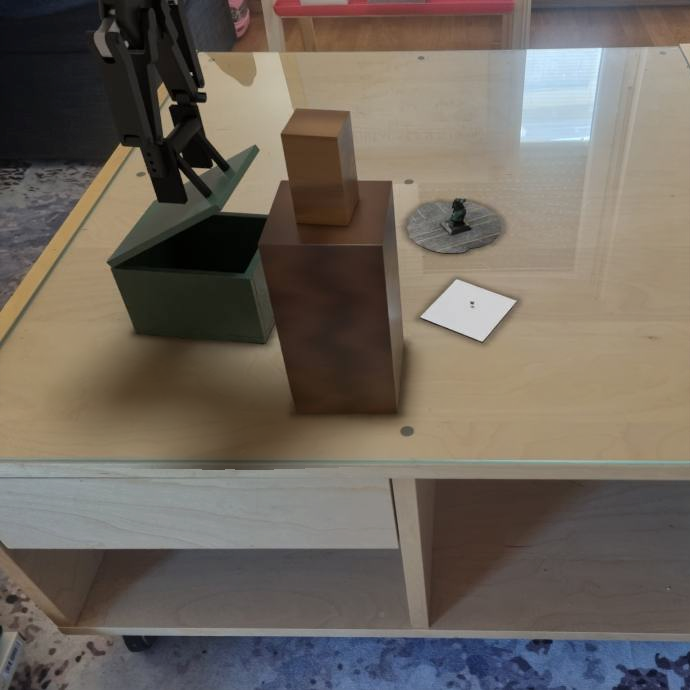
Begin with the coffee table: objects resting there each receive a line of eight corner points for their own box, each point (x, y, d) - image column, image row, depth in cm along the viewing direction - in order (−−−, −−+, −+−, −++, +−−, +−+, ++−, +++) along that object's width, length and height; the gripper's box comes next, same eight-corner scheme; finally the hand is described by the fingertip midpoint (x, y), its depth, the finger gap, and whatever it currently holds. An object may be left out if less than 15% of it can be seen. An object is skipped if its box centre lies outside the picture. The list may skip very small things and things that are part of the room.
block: (348, 226, 61) (337, 136, 56) (296, 223, 62) (280, 133, 56) (359, 198, 64) (350, 110, 59) (310, 195, 65) (295, 107, 59)
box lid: (260, 150, 78) (213, 91, 74) (221, 210, 69) (166, 148, 65) (158, 206, 84) (110, 155, 80) (111, 268, 76) (55, 214, 72)
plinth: (295, 413, 73) (257, 244, 59) (311, 343, 80) (280, 179, 67) (397, 413, 73) (382, 245, 59) (404, 344, 80) (392, 180, 67)
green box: (295, 278, 89) (282, 215, 83) (265, 343, 80) (249, 278, 74) (177, 269, 90) (157, 207, 84) (135, 333, 82) (110, 268, 76)
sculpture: (515, 219, 99) (501, 198, 91) (486, 281, 98) (469, 266, 91) (439, 189, 103) (418, 167, 95) (411, 249, 102) (388, 232, 95)
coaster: (419, 317, 83) (419, 311, 83) (456, 279, 88) (456, 274, 88) (482, 341, 80) (482, 336, 80) (516, 301, 85) (517, 295, 85)
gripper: (99, -38, 52) (185, 240, 67) (202, -103, 65) (253, 140, 81) (-2, -41, 52) (106, 235, 68) (121, -105, 66) (187, 136, 82)
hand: (186, 182), depth 75 cm, fingers closed on box lid, 6 cm apart
